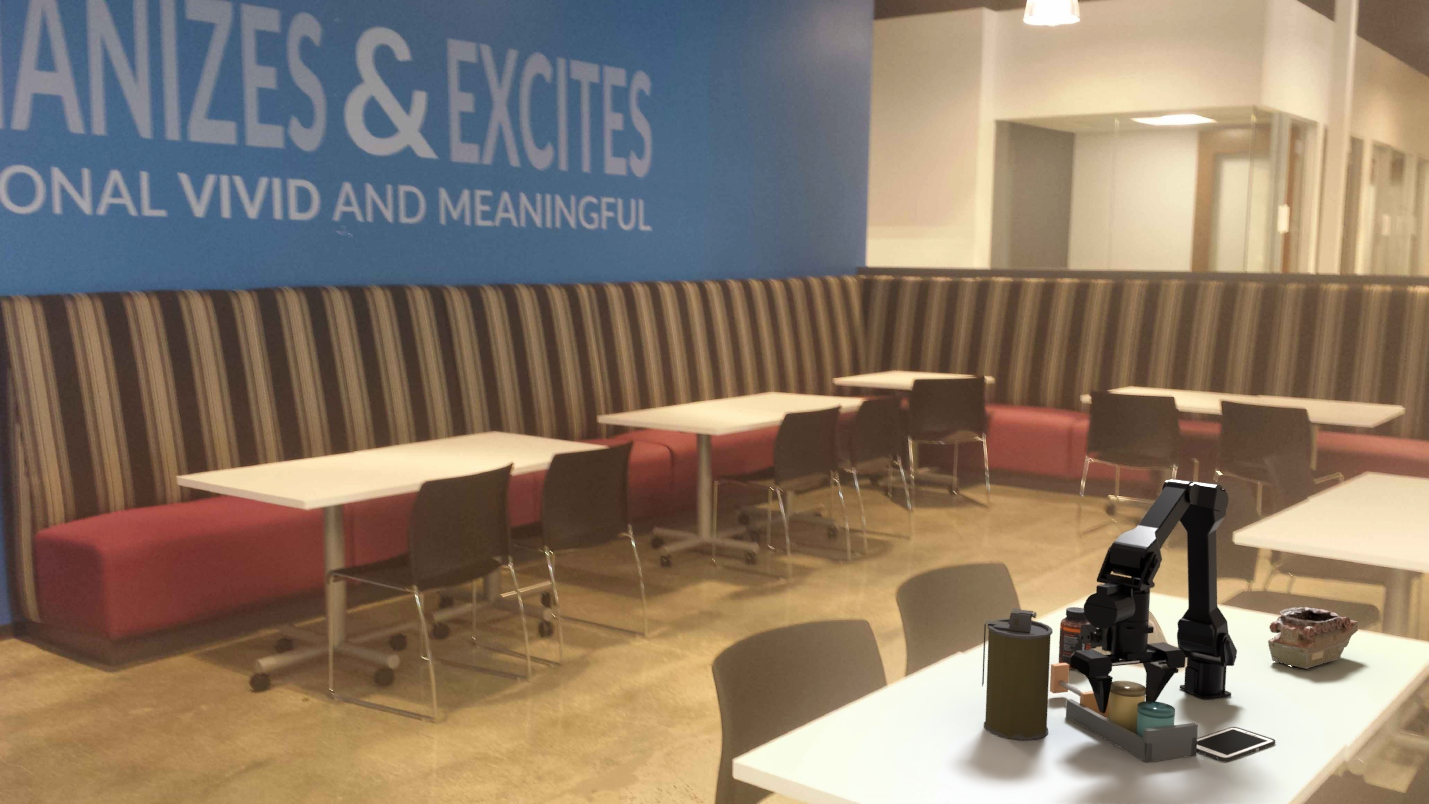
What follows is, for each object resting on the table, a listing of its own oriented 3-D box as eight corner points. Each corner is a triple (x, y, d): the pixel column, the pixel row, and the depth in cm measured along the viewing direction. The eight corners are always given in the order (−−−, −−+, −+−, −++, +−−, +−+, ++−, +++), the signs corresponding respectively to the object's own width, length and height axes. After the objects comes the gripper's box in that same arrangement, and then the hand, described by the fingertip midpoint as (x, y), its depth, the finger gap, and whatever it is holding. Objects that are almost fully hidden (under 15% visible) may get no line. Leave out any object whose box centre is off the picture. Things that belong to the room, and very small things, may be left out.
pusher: (1073, 692, 221) (1074, 661, 220) (1117, 716, 209) (1119, 683, 208) (1040, 696, 218) (1041, 665, 218) (1082, 720, 206) (1084, 687, 206)
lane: (1112, 711, 212) (1113, 683, 211) (1196, 755, 192) (1197, 724, 192) (1065, 716, 209) (1067, 688, 208) (1146, 762, 189) (1147, 731, 189)
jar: (1156, 741, 198) (1159, 699, 197) (1180, 754, 193) (1183, 711, 192) (1127, 745, 196) (1129, 703, 196) (1150, 758, 191) (1153, 715, 190)
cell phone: (1180, 749, 196) (1181, 743, 196) (1233, 731, 204) (1234, 725, 204) (1224, 764, 190) (1225, 758, 190) (1277, 745, 198) (1277, 740, 198)
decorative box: (1244, 655, 246) (1246, 608, 245) (1309, 643, 255) (1312, 598, 254) (1301, 674, 234) (1304, 625, 233) (1368, 661, 244) (1371, 613, 243)
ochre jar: (1128, 725, 205) (1130, 679, 204) (1150, 737, 200) (1153, 690, 199) (1099, 729, 203) (1102, 682, 203) (1121, 741, 198) (1124, 693, 197)
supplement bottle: (1091, 672, 233) (1094, 614, 232) (1059, 669, 235) (1062, 612, 234) (1088, 663, 239) (1091, 606, 238) (1057, 660, 240) (1059, 604, 239)
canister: (1050, 722, 206) (1055, 606, 204) (1045, 744, 196) (1051, 622, 194) (984, 714, 209) (989, 600, 208) (977, 735, 200) (982, 615, 198)
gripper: (1145, 601, 210) (1141, 689, 212) (1052, 608, 204) (1048, 699, 206) (1190, 618, 200) (1185, 710, 201) (1093, 626, 194) (1089, 721, 195)
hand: (1125, 709), depth 201 cm, fingers open, 9 cm apart
